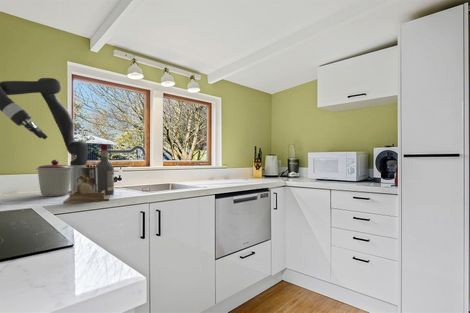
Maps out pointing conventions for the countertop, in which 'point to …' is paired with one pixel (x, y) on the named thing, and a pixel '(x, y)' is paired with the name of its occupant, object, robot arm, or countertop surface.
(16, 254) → the countertop surface
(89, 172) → the coffee box
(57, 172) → the canister
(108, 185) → the liquor
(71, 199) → the walnut caddy
